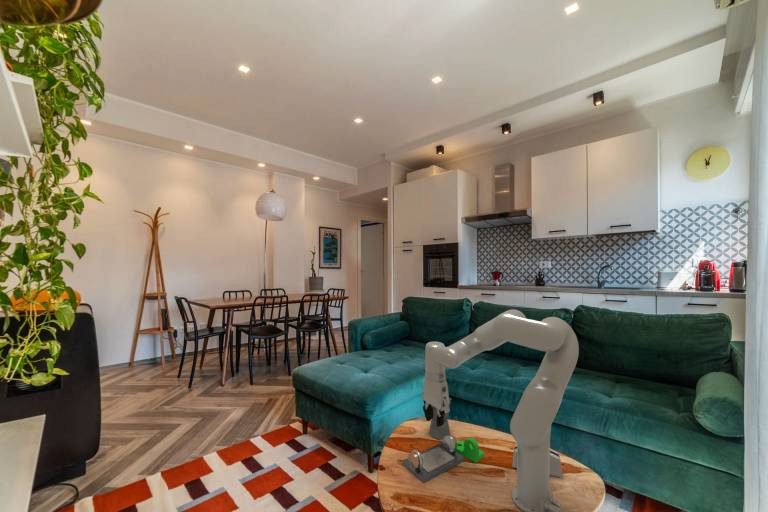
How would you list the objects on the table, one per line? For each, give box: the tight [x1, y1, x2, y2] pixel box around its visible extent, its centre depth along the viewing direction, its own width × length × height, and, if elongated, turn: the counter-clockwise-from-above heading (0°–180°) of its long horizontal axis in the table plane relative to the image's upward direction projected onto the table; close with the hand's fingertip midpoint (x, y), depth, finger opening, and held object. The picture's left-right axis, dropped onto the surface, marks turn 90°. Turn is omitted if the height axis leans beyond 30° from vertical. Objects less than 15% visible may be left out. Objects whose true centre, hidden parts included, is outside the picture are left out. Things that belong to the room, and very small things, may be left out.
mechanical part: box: [455, 437, 485, 463], centre depth 130 cm, size 12×6×8 cm, turn 43°
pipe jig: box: [402, 434, 465, 483], centre depth 124 cm, size 21×12×8 cm, turn 125°
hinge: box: [511, 444, 564, 479], centre depth 119 cm, size 17×5×10 cm, turn 70°
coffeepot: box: [422, 397, 453, 441], centre depth 144 cm, size 15×9×18 cm, turn 117°
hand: (434, 421), depth 125 cm, fingers open, 5 cm apart
